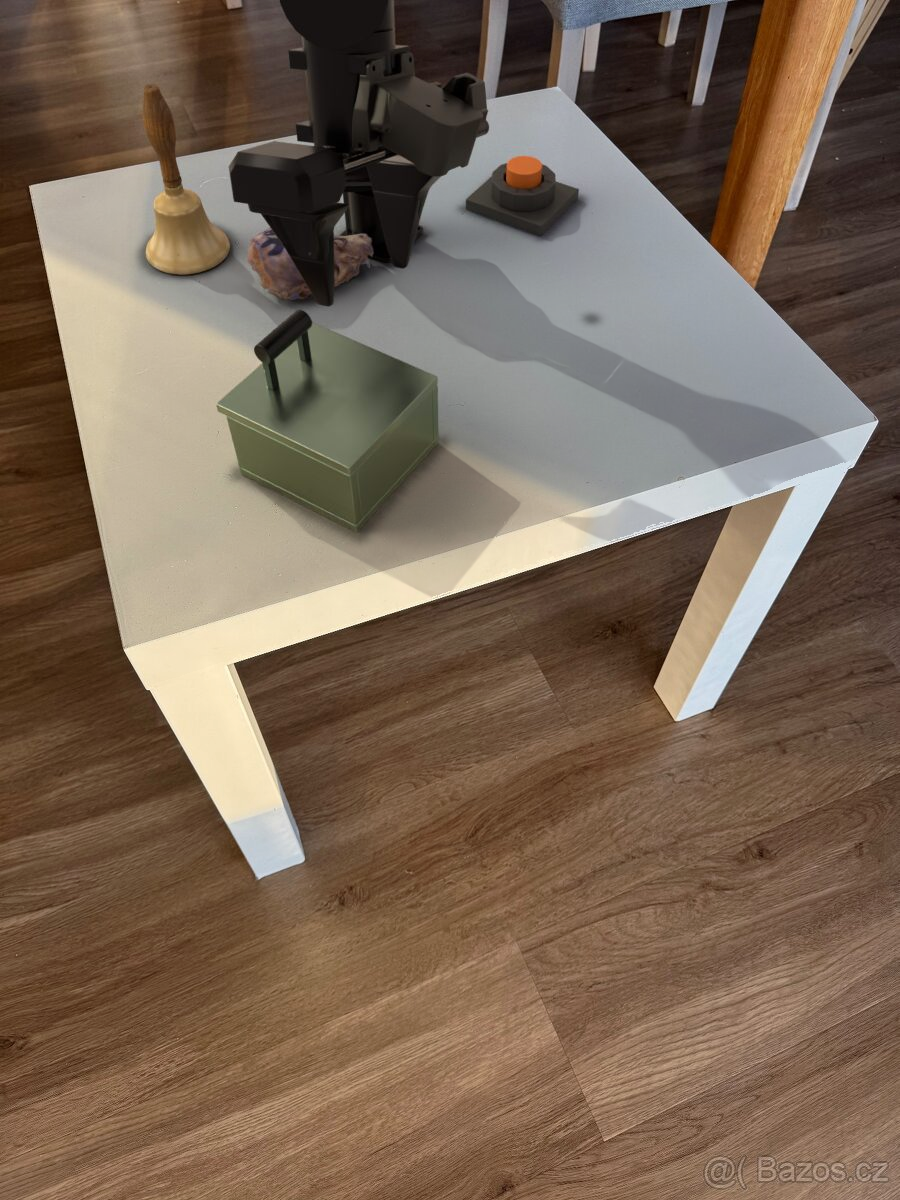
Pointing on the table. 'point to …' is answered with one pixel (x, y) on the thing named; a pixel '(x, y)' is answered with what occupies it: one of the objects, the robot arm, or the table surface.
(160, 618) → the table surface
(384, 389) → the box lid
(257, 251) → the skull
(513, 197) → the control block
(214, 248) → the hand bell
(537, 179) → the button
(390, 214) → the robot arm
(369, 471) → the green box
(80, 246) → the table surface
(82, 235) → the table surface
